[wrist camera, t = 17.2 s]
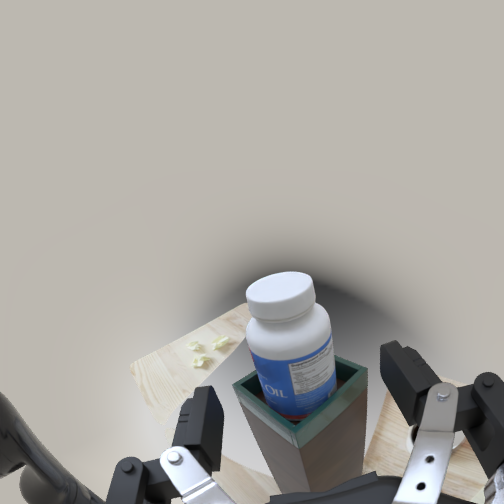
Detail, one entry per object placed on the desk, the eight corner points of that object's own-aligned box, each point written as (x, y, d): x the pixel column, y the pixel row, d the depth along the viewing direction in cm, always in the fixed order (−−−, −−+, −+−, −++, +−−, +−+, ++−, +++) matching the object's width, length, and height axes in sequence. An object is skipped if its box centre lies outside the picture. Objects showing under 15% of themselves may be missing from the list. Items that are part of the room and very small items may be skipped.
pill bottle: (256, 392, 21) (222, 286, 18) (313, 365, 22) (294, 260, 20) (287, 436, 16) (252, 319, 13) (352, 399, 17) (342, 279, 15)
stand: (321, 532, 21) (299, 449, 14) (288, 506, 27) (238, 401, 20) (358, 500, 25) (367, 386, 18) (324, 478, 31) (303, 357, 24)
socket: (299, 449, 14) (294, 433, 14) (238, 401, 20) (231, 384, 20) (367, 386, 18) (368, 367, 17) (303, 357, 24) (299, 339, 23)
